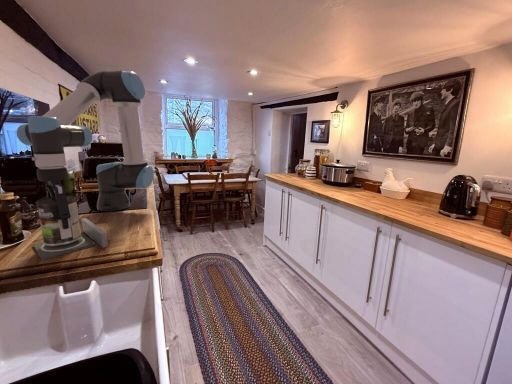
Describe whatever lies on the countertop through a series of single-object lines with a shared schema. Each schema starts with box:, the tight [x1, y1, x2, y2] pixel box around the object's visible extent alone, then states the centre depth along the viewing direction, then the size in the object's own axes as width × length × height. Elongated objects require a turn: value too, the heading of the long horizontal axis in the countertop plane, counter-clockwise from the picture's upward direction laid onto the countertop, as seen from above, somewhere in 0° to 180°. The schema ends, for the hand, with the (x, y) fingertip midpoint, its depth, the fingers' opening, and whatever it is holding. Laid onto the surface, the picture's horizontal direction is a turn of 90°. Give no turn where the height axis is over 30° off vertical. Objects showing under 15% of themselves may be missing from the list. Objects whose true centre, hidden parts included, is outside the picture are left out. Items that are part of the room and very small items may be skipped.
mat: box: [32, 232, 96, 261], centre depth 84 cm, size 14×14×1 cm
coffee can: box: [35, 195, 82, 246], centre depth 83 cm, size 10×10×14 cm
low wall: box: [80, 217, 109, 249], centre depth 91 cm, size 22×2×5 cm, turn 49°
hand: (62, 233), depth 84 cm, fingers closed on coffee can, 10 cm apart
